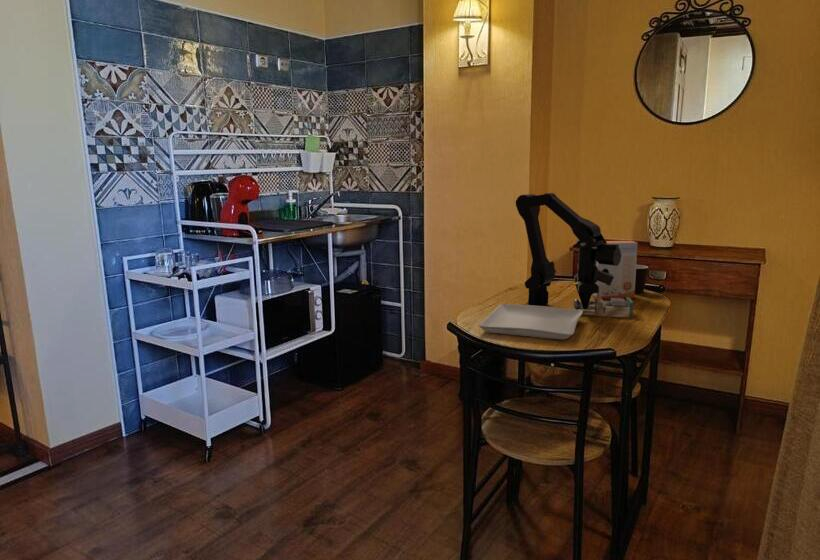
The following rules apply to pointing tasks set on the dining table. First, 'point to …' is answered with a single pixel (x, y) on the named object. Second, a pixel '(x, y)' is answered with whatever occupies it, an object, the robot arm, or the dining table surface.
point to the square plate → (532, 321)
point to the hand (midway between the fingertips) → (584, 307)
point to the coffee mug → (640, 278)
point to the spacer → (618, 302)
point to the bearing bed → (611, 309)
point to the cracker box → (620, 273)
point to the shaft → (590, 305)
